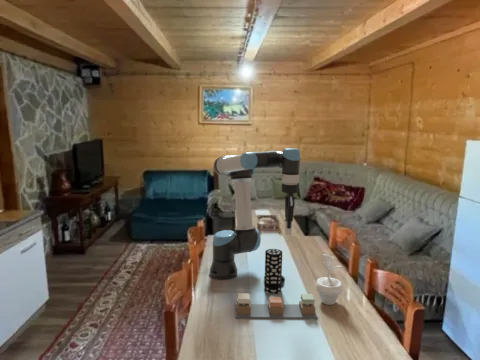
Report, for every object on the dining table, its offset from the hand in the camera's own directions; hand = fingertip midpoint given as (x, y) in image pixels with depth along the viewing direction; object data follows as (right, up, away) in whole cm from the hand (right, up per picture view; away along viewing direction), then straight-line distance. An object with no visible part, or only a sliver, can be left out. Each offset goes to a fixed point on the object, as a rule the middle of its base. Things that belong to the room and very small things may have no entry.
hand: (288, 234), depth 166 cm
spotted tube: (-6, -30, +16) cm, 35 cm away
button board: (-6, -34, -5) cm, 34 cm away
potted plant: (+20, -33, +5) cm, 38 cm away
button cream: (-20, -31, -5) cm, 38 cm away
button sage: (+8, -31, -5) cm, 33 cm away
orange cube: (-6, -33, -5) cm, 34 cm away
